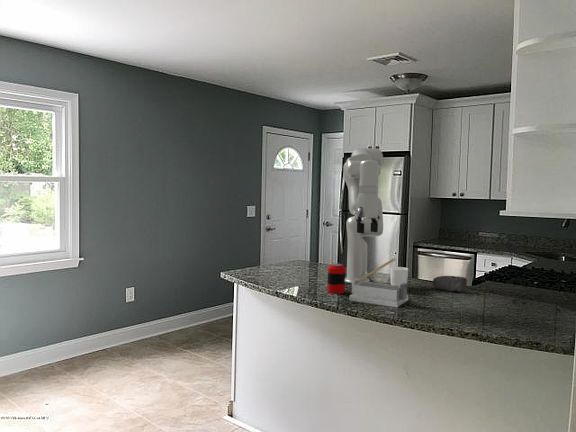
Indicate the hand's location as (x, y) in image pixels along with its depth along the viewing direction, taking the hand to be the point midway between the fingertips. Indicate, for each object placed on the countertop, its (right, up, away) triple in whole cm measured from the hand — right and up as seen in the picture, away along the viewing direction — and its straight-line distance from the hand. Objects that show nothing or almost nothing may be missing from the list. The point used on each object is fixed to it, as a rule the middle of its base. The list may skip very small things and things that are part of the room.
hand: (367, 232), depth 202 cm
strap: (+3, -16, -1) cm, 16 cm away
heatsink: (+4, -28, -1) cm, 28 cm away
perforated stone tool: (+40, -27, +20) cm, 52 cm away
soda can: (-12, -27, +13) cm, 32 cm away
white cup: (+17, -27, +18) cm, 37 cm away
